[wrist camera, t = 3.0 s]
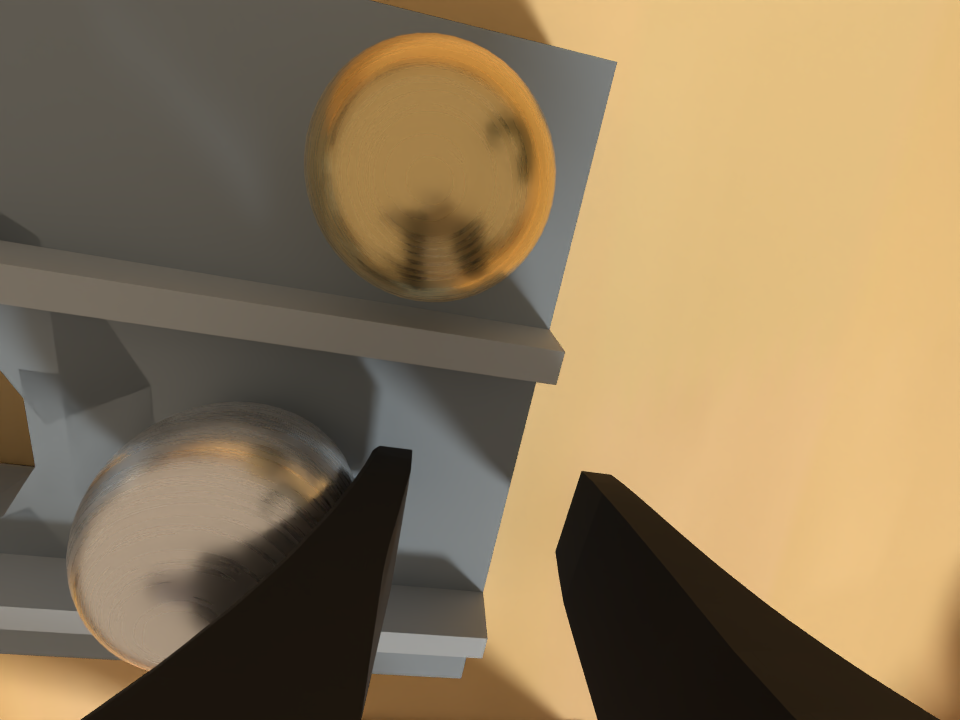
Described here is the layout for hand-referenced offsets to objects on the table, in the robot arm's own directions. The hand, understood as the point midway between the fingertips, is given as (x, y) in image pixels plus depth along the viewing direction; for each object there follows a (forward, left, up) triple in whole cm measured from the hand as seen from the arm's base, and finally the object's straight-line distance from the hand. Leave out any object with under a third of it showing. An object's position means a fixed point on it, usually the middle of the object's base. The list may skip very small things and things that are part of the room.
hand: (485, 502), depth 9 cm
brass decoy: (+2, -6, +1) cm, 6 cm away
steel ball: (+4, 0, +1) cm, 4 cm away
